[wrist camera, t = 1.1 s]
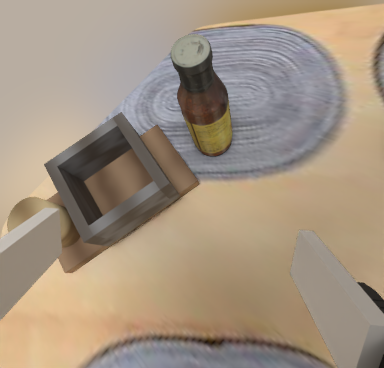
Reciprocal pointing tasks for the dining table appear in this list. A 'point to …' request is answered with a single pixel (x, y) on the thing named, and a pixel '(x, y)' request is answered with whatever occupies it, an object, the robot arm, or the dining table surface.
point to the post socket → (108, 188)
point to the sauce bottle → (202, 95)
